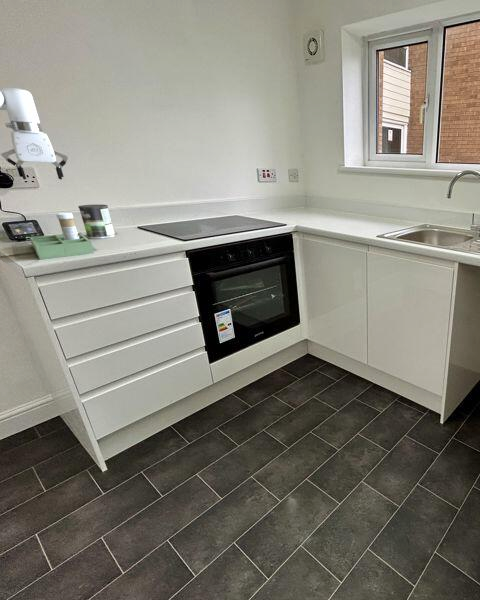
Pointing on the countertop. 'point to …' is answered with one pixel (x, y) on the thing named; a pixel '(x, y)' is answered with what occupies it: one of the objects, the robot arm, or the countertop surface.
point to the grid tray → (60, 246)
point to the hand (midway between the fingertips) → (43, 179)
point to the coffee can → (97, 221)
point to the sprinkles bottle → (68, 226)
